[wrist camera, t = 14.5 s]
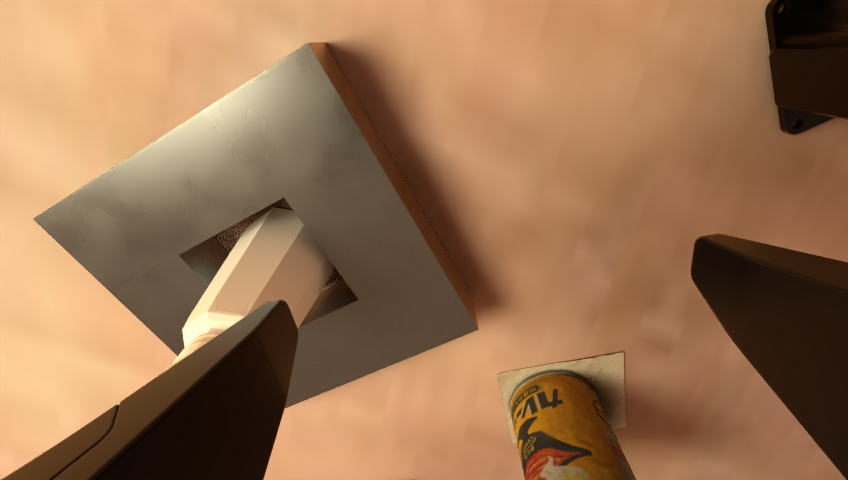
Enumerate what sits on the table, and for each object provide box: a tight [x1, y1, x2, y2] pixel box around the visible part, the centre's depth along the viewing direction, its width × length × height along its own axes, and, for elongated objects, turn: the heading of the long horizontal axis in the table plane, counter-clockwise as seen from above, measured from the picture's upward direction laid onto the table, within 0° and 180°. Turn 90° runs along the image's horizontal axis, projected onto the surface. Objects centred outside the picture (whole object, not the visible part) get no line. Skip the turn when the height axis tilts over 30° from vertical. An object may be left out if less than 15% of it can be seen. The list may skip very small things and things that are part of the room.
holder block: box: [34, 42, 478, 409], centre depth 22 cm, size 16×16×3 cm
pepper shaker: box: [164, 207, 334, 372], centre depth 18 cm, size 5×5×11 cm
